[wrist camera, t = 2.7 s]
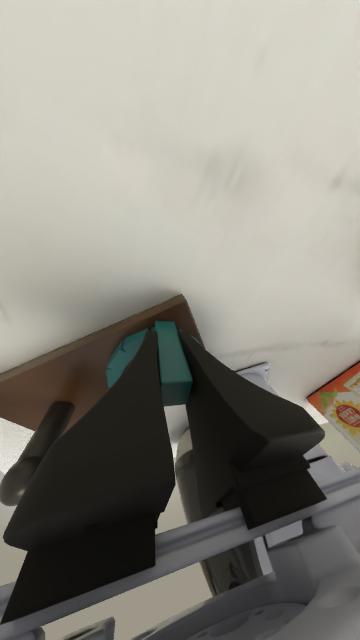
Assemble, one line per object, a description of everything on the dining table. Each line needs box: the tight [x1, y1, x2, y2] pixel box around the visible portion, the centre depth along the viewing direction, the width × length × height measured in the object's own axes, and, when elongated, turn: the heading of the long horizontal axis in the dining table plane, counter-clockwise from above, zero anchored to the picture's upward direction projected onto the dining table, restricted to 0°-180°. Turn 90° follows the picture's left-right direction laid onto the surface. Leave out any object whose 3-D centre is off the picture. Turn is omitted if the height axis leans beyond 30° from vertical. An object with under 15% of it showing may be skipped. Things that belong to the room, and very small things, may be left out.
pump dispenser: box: [175, 428, 264, 597], centre depth 18 cm, size 10×10×15 cm
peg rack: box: [0, 294, 205, 506], centre depth 11 cm, size 19×10×7 cm, turn 111°
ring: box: [106, 321, 200, 407], centre depth 10 cm, size 9×8×6 cm
